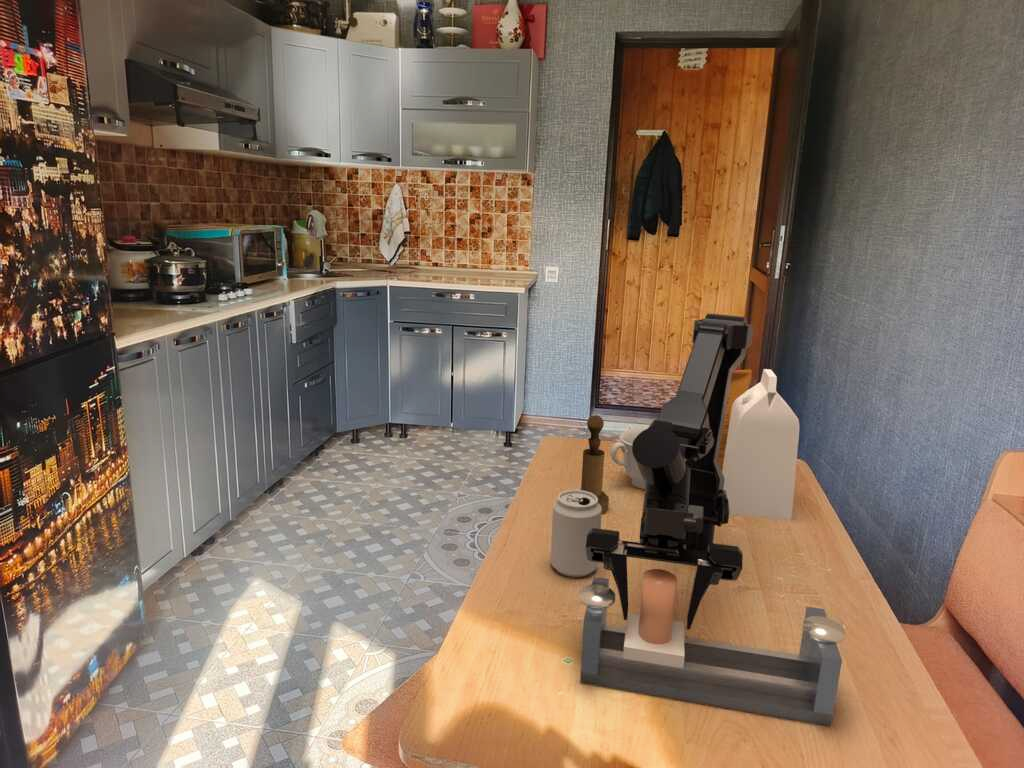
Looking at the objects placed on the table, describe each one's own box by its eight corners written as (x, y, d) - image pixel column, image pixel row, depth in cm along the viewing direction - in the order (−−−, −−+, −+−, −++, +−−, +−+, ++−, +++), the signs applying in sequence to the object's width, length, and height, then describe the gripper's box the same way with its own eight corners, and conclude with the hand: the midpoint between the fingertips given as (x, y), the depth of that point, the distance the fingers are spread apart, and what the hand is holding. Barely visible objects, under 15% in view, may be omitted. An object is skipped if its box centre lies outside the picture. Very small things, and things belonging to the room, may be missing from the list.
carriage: (622, 658, 83) (628, 588, 81) (627, 624, 90) (632, 559, 87) (683, 668, 81) (690, 597, 79) (683, 633, 88) (689, 567, 86)
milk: (791, 520, 128) (810, 383, 121) (726, 514, 129) (741, 378, 123) (779, 494, 139) (796, 367, 132) (719, 488, 141) (733, 363, 134)
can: (595, 582, 105) (600, 509, 102) (546, 576, 107) (549, 504, 104) (599, 558, 112) (604, 489, 109) (553, 552, 114) (556, 484, 111)
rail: (570, 680, 84) (573, 614, 81) (581, 632, 93) (584, 571, 91) (842, 728, 77) (855, 657, 75) (824, 670, 87) (835, 606, 84)
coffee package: (687, 452, 161) (696, 359, 155) (744, 461, 156) (755, 365, 151) (681, 467, 152) (690, 369, 146) (740, 476, 147) (752, 375, 142)
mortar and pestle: (611, 503, 133) (617, 413, 128) (604, 517, 127) (610, 423, 122) (577, 498, 135) (582, 409, 130) (568, 511, 129) (573, 419, 124)
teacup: (593, 479, 144) (595, 433, 141) (652, 469, 150) (656, 425, 147) (626, 502, 133) (629, 453, 131) (688, 490, 139) (693, 443, 137)
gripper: (591, 468, 86) (574, 595, 78) (750, 485, 82) (748, 620, 74) (595, 502, 95) (580, 618, 88) (737, 519, 91) (734, 642, 84)
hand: (656, 624), depth 83 cm, fingers open, 7 cm apart
